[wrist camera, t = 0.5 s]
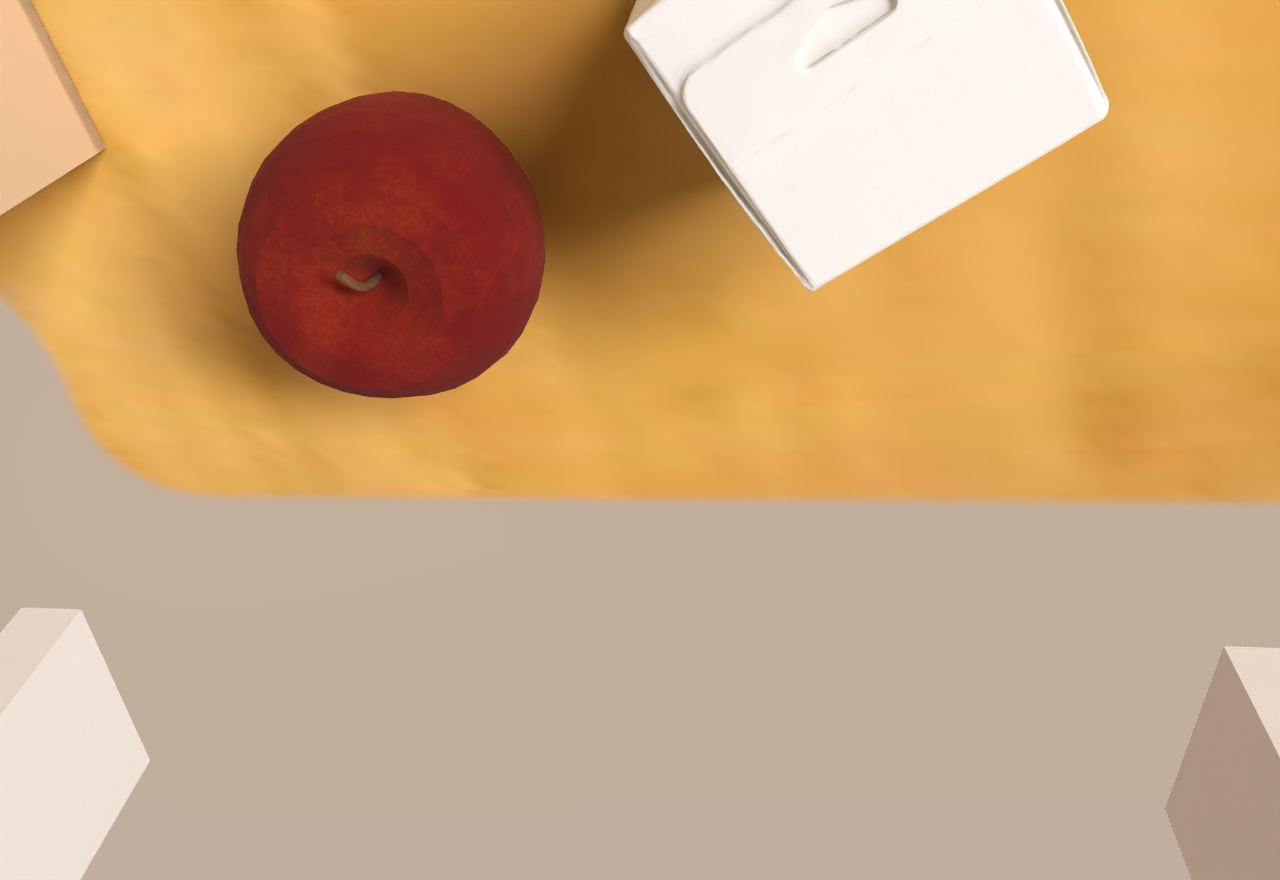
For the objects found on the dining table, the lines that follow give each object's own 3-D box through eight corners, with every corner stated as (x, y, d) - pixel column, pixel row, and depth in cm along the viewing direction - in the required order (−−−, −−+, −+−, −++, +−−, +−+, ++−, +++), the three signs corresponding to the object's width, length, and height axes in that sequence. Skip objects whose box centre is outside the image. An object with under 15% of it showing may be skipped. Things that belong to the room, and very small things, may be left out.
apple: (621, 218, 39) (584, 348, 31) (432, 344, 43) (355, 490, 35) (452, -5, 35) (358, 75, 27) (261, 154, 39) (127, 268, 31)
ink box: (794, 159, 37) (807, 308, 28) (649, -51, 34) (605, 36, 24) (1022, 4, 34) (1128, 113, 24) (885, -245, 31) (943, -235, 21)
